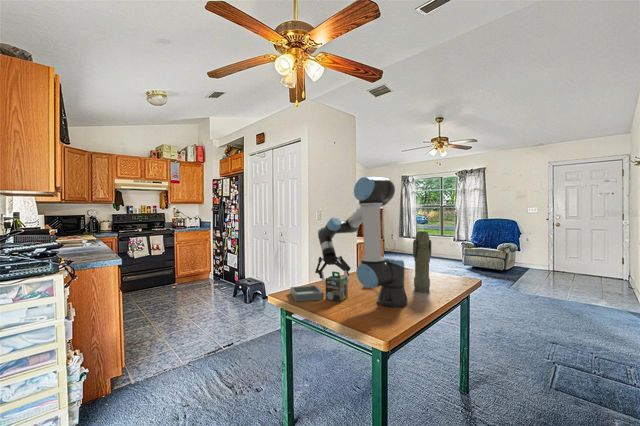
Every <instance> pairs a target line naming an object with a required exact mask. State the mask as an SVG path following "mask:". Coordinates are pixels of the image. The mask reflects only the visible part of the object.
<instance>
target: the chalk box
mask: <svg viewBox="0 0 640 426" xmlns="http://www.w3.org/2000/svg"><path fill="white" fill-rule="evenodd" d="M331 275H332V276H331ZM331 275H330V276H328V277H326V278H325V299H326V300H329V301H333V302H338V303H340V302H342V301H344V300H345V299H347V298H349V297H348V296H349V295H348V294H349V293H348V292H349V290H348V283H347V277H345V275H344V276H343V275H341V273H340V272H339V271H331Z"/></svg>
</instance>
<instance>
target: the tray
mask: <svg viewBox="0 0 640 426" xmlns="http://www.w3.org/2000/svg"><path fill="white" fill-rule="evenodd" d="M290 295H291V296H292V299H293V300H294V302H296V303H297V302H308V301H321V300H324V298H325V297H324V295H325V294H324V291H322V290H321V288H320V287H319V286H318V285H316V284H315V285H302V286H290Z"/></svg>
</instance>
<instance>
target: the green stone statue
mask: <svg viewBox="0 0 640 426" xmlns="http://www.w3.org/2000/svg"><path fill="white" fill-rule="evenodd" d="M431 256H432V240H431V239H430V236H429V233H428V232H427V231H424V230H423V231H422V230H419V231H417V232H416V233H415V239H413V241H412V257H413V260H414V277H413V287H414V291H415V292H417V293H418V292H419V293H429V292H430V287H431V280H430V262H431Z"/></svg>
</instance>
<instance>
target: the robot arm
mask: <svg viewBox="0 0 640 426" xmlns="http://www.w3.org/2000/svg"><path fill="white" fill-rule="evenodd" d="M395 193H396V188H395V184H394V183H393V181H392V180H391V179H389V178H386V177H377V176H363V177H359V179H357V181H356V183H355V184H354V187H353V195H354V197H355V199H356V200H357V201H358V204H359V206H360V207H359V208H357V209H356V210H355V212H354V213H352V214H351V215H350V216H349V217H348V218H347V219H346V220H341V219H339V218H336V217H334V216H333V217H330V219H329V220H328V221H327V223H326V224H325V226H324V227H321V228H320V229H318V231H317V237H318V241H319V245H320V250H321V253H322V257H321V256H318V259H317V260H318V263H317V265H316V269H315V274H318V275H319V279H321V282H322V285H324V286H325V285H326V278H325V274H324V269H326V267H327V265H328V266H331V265H332V266H333V265H334V266H337V267H338V268H339V269H341V270H342V271H343V275H344V276H345V277H347V284H348V283H349V282H350V278H349V276H350V273H349V272H350V271H351V267H350V265H348V263H347V262H346V261H345V260H344V259H343V256H342V255H340V256H337V254H336V250H335V247H334V244H333V243H334V242H333V238H334V237H335V235H336V234H353V233H356V232H358V231H359V228H360V225H361V224H362V229H363V231H362V232H363V233H362V234H363V256H362V258H361V259H360V261H361V262H360V264H359V265H358V266H357V268H356V277H357V281H359V283H360V284H361V285H362V286H363V287H365V288H368V289H369V288H371V289H372V288H377V287H380V290H379V293H378V295H377V302H378V304H380V305H383V306H386V307H390V308H391V307H392V308H402V307H405V306H408V300H409V299H408V296H407V293H406V290H405V261H404V260H403V259H402V258H401V259H400V258H395V257H386V256H383V255H382V253H383V252H382V229H381V226H382V225H381V224H382V223H381V207H383V206H386V205H387V204H388V203H390V202H391V200H392V199H393V198H394V196H395ZM322 262H324V263H323V264H322V266H321V263H322ZM320 266H321V268H320ZM319 268H320V269H319Z"/></svg>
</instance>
